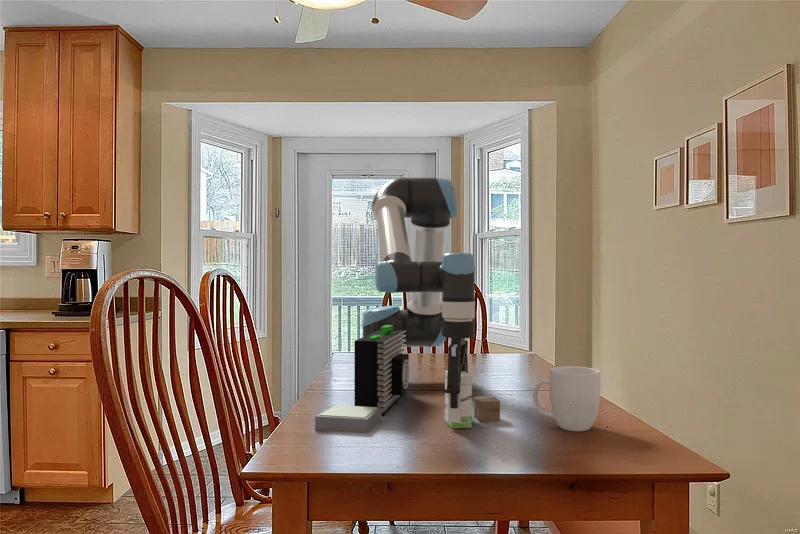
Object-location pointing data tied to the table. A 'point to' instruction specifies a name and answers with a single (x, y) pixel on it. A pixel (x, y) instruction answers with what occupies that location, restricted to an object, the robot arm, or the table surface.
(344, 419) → the stand
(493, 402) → the walnut block
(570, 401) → the mug
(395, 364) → the electronic device
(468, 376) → the ink box
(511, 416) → the table surface
